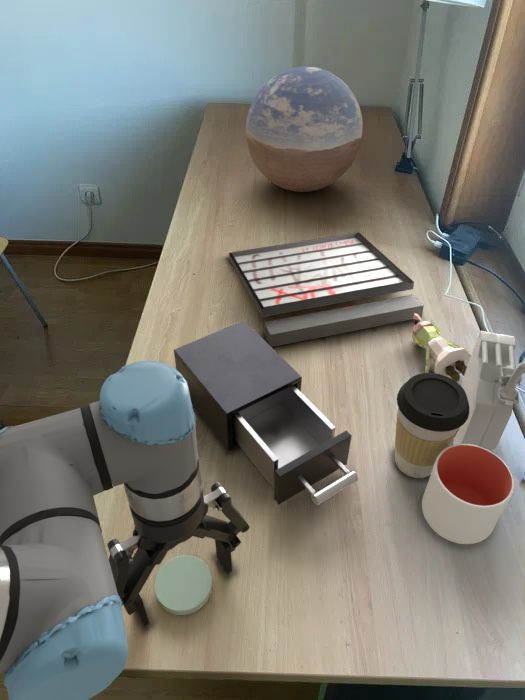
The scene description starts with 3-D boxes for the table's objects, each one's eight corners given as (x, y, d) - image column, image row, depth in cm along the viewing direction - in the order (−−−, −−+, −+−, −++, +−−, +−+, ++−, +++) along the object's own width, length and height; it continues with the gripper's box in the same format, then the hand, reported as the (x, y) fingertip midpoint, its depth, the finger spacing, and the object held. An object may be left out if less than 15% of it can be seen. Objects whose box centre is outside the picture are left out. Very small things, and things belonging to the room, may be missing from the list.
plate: (172, 630, 68) (170, 623, 67) (146, 582, 72) (144, 574, 71) (223, 597, 71) (222, 589, 70) (195, 553, 75) (194, 544, 74)
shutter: (231, 280, 131) (271, 353, 106) (228, 252, 127) (268, 322, 102) (358, 253, 137) (424, 316, 112) (359, 226, 133) (427, 286, 108)
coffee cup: (445, 440, 90) (469, 374, 80) (449, 493, 83) (476, 427, 72) (383, 432, 91) (398, 365, 81) (382, 482, 84) (399, 416, 74)
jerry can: (487, 486, 83) (545, 365, 66) (452, 479, 84) (501, 358, 67) (484, 411, 94) (533, 291, 77) (453, 405, 95) (495, 285, 78)
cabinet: (299, 414, 94) (302, 376, 88) (228, 451, 88) (226, 414, 82) (244, 356, 104) (244, 320, 98) (178, 386, 98) (173, 349, 92)
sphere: (312, 154, 170) (320, 45, 150) (378, 194, 152) (396, 75, 131) (226, 177, 158) (222, 62, 138) (286, 224, 140) (290, 98, 120)
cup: (415, 483, 84) (429, 441, 77) (483, 487, 83) (503, 445, 77) (425, 546, 76) (442, 505, 70) (500, 550, 76) (524, 510, 69)
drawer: (369, 488, 82) (375, 459, 77) (299, 531, 77) (302, 503, 72) (286, 401, 95) (287, 371, 90) (222, 433, 89) (220, 404, 85)
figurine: (485, 374, 98) (438, 326, 109) (481, 347, 93) (432, 299, 104) (441, 398, 98) (399, 346, 109) (435, 372, 93) (391, 321, 104)
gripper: (243, 417, 64) (246, 520, 79) (37, 521, 54) (85, 616, 69) (281, 462, 59) (277, 563, 74) (64, 585, 50) (109, 672, 64)
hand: (184, 589), depth 72 cm, fingers open, 11 cm apart
